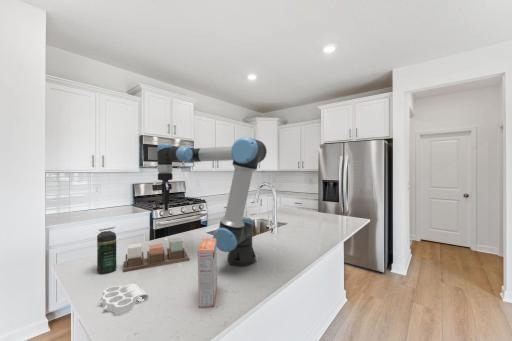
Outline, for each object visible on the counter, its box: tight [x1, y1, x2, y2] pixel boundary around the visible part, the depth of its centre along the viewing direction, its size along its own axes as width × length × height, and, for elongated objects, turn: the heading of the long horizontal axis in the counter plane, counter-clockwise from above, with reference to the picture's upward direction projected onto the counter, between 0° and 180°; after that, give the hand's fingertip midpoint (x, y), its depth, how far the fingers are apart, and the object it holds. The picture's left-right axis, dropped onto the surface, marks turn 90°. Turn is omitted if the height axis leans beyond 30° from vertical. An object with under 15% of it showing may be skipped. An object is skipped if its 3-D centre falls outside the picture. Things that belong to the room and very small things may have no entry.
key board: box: [122, 247, 190, 273], centre depth 126 cm, size 10×31×6 cm, turn 117°
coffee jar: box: [96, 230, 117, 274], centre depth 117 cm, size 10×8×19 cm
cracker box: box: [197, 238, 218, 308], centre depth 93 cm, size 14×6×21 cm, turn 5°
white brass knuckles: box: [97, 283, 149, 316], centre depth 90 cm, size 3×18×15 cm
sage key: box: [168, 237, 184, 252], centre depth 130 cm, size 6×6×6 cm
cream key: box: [127, 242, 142, 260], centre depth 121 cm, size 6×6×6 cm
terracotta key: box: [148, 243, 164, 255], centre depth 126 cm, size 6×6×6 cm
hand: (165, 216), depth 130 cm, fingers closed
